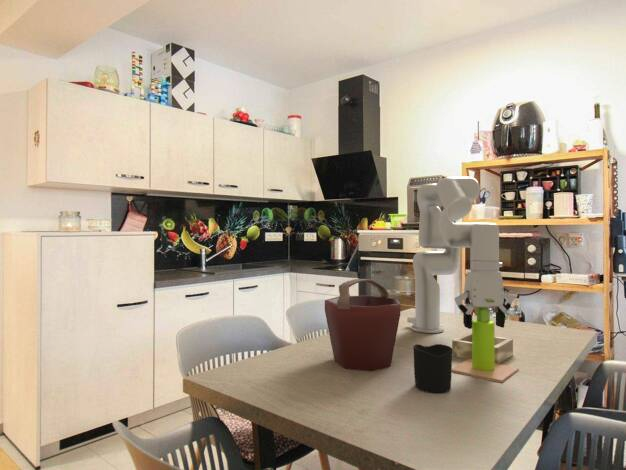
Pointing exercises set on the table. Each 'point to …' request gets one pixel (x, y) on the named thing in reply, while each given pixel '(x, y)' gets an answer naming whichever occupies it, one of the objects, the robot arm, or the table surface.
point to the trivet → (497, 374)
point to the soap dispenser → (483, 340)
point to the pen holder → (433, 368)
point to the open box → (464, 348)
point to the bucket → (362, 327)
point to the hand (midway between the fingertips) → (484, 327)
